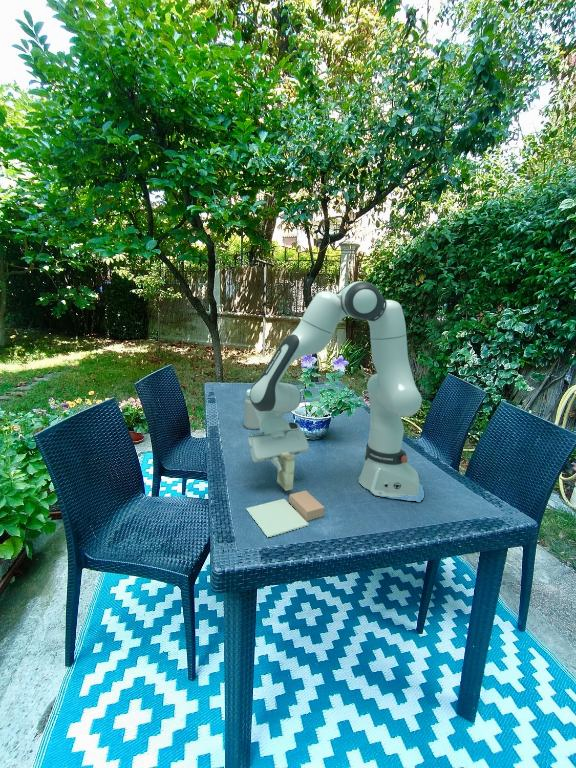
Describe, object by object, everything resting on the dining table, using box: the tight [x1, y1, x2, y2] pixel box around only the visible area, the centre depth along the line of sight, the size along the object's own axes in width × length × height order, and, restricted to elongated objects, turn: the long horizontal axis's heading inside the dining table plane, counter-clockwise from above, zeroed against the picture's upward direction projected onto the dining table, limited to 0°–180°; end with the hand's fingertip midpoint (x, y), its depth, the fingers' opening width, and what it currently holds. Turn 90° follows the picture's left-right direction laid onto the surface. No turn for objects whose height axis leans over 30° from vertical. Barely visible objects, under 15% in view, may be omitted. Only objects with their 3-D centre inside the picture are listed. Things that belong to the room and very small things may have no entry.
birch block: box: [276, 452, 296, 492], centre depth 114 cm, size 6×2×11 cm, turn 30°
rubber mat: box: [245, 498, 310, 539], centre depth 101 cm, size 14×13×1 cm
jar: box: [243, 388, 260, 431], centre depth 169 cm, size 10×10×18 cm
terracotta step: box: [288, 490, 325, 522], centre depth 106 cm, size 10×6×3 cm, turn 30°
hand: (286, 469), depth 113 cm, fingers closed on birch block, 2 cm apart
